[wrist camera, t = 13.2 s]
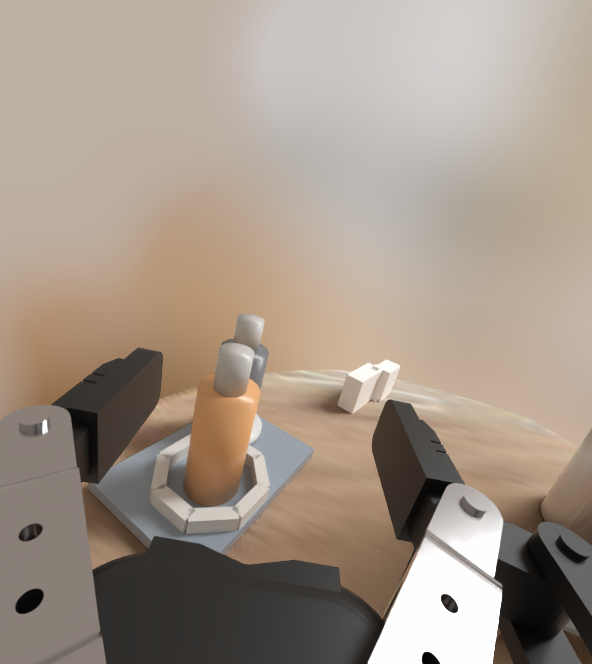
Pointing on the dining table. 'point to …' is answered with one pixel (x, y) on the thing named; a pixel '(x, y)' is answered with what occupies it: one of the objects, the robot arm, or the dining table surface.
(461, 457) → the dining table surface
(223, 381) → the orange lotion bottle
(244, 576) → the robot arm
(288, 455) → the bottle holder tray
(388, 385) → the white stepped block
